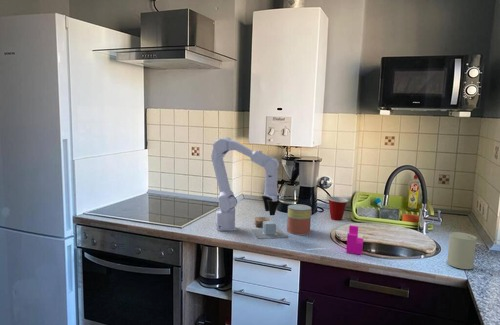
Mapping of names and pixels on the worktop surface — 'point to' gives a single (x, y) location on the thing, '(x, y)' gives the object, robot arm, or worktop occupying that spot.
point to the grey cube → (269, 227)
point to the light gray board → (262, 236)
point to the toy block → (354, 241)
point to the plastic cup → (337, 207)
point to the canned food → (299, 219)
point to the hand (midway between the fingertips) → (269, 213)
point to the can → (461, 250)
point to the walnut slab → (260, 221)
